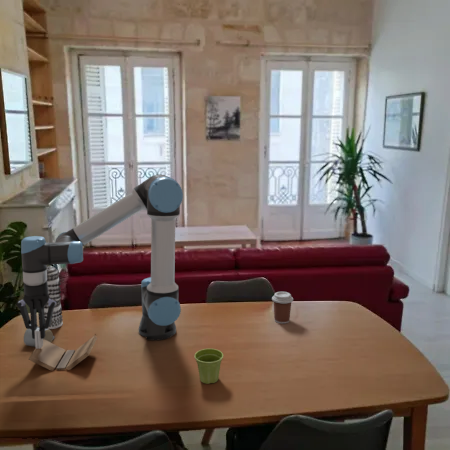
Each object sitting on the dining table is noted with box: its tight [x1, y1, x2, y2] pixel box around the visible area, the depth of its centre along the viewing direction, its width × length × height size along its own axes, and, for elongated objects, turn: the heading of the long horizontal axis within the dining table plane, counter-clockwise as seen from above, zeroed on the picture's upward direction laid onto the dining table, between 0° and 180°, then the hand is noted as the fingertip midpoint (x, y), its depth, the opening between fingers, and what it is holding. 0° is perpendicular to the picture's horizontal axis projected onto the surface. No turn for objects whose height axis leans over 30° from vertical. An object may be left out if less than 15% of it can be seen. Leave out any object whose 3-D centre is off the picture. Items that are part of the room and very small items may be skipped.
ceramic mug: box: [23, 325, 55, 348], centre depth 172 cm, size 11×8×8 cm
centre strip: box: [55, 349, 76, 371], centre depth 158 cm, size 3×13×2 cm, turn 4°
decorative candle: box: [44, 266, 64, 330], centre depth 188 cm, size 9×9×25 cm
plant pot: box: [194, 348, 224, 385], centre depth 148 cm, size 9×9×9 cm
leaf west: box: [66, 334, 98, 371], centre depth 158 cm, size 9×13×1 cm
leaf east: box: [28, 339, 66, 371], centre depth 157 cm, size 9×13×1 cm
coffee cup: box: [271, 291, 294, 324], centre depth 194 cm, size 9×9×12 cm
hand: (39, 346), depth 157 cm, fingers closed
